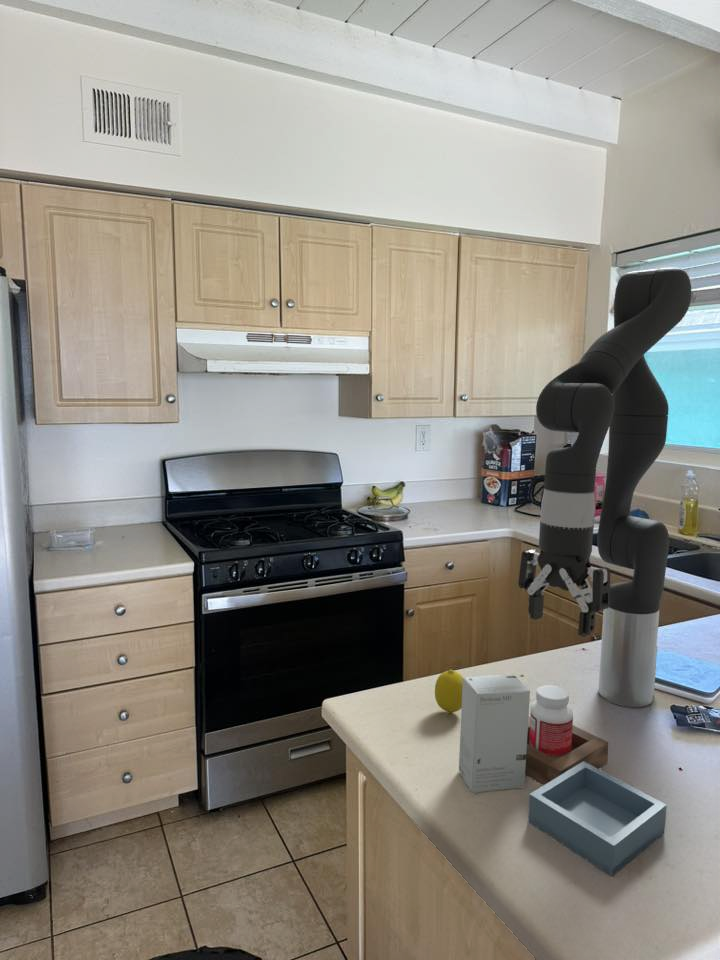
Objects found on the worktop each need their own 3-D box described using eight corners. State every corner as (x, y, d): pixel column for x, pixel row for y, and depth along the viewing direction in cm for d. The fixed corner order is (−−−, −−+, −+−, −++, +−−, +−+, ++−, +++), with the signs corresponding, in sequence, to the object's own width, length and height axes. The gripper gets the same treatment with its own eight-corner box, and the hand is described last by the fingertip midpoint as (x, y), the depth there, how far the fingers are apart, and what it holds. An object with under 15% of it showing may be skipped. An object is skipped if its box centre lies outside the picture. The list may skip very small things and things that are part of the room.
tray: (581, 787, 93) (583, 761, 92) (664, 833, 83) (666, 804, 83) (528, 821, 85) (529, 794, 85) (612, 876, 76) (614, 845, 75)
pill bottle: (579, 763, 98) (583, 694, 97) (551, 776, 95) (555, 705, 93) (546, 744, 103) (550, 678, 102) (519, 756, 100) (522, 688, 98)
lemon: (430, 718, 111) (431, 674, 110) (439, 703, 116) (439, 660, 115) (462, 724, 109) (463, 679, 108) (469, 709, 114) (470, 666, 113)
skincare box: (471, 795, 91) (474, 695, 89) (457, 769, 97) (459, 675, 94) (527, 788, 92) (532, 689, 90) (510, 763, 98) (513, 670, 96)
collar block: (541, 730, 108) (542, 710, 107) (607, 763, 98) (608, 742, 98) (492, 755, 100) (493, 734, 100) (558, 794, 91) (560, 771, 90)
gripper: (625, 526, 92) (616, 636, 94) (542, 510, 103) (536, 608, 106) (595, 532, 88) (586, 647, 90) (511, 514, 99) (505, 617, 101)
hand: (559, 626), depth 98 cm, fingers open, 8 cm apart
